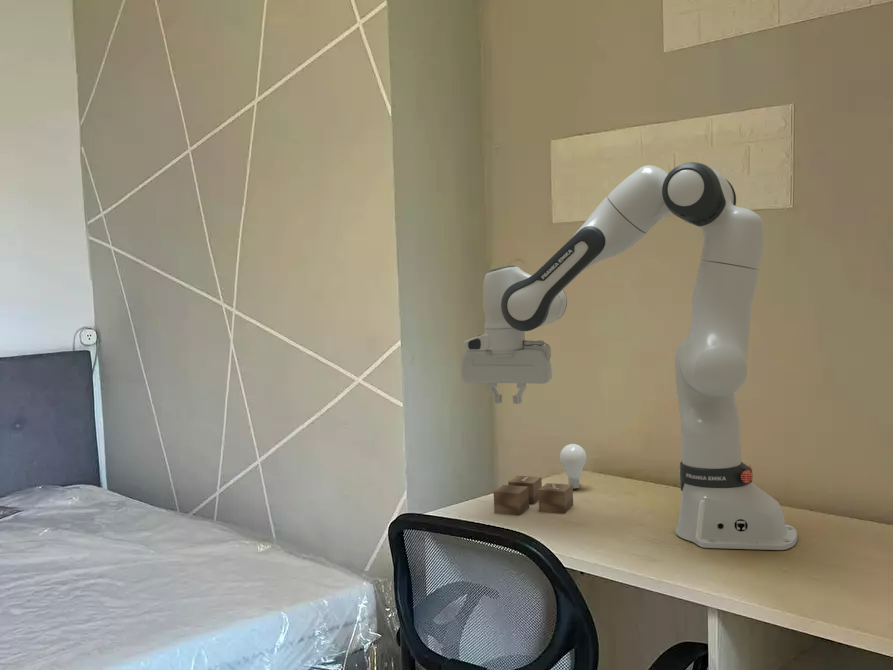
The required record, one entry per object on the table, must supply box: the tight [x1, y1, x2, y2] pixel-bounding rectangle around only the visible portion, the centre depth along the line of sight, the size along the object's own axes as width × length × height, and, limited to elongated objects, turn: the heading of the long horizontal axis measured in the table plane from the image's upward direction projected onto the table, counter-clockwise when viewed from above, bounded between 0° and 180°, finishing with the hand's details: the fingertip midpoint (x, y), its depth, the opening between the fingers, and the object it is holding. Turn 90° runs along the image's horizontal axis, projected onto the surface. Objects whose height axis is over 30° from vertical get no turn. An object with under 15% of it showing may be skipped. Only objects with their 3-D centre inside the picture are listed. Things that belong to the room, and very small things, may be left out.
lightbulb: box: [559, 443, 587, 490], centre depth 212 cm, size 6×6×11 cm
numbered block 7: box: [538, 482, 574, 514], centre depth 196 cm, size 6×6×5 cm
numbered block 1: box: [507, 475, 543, 505], centre depth 205 cm, size 6×6×5 cm
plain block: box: [493, 484, 530, 516], centre depth 197 cm, size 6×6×5 cm
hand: (507, 403), depth 195 cm, fingers open, 3 cm apart
